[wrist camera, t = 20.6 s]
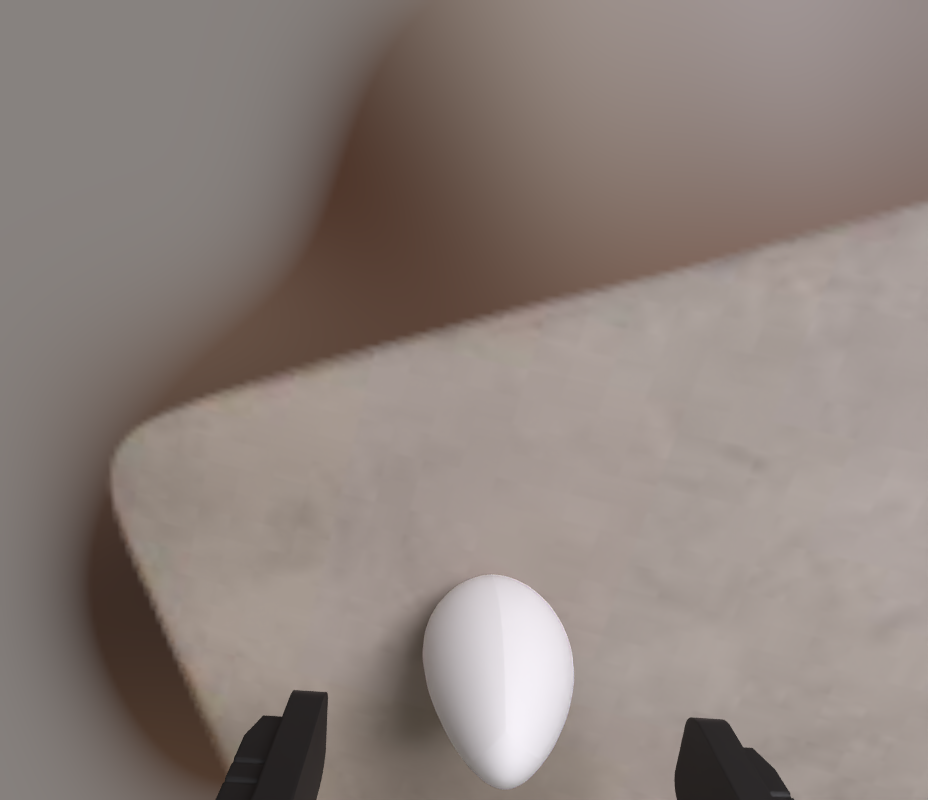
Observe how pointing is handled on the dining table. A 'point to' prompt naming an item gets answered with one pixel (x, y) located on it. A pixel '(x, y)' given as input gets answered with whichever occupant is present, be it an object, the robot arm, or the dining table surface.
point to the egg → (499, 676)
